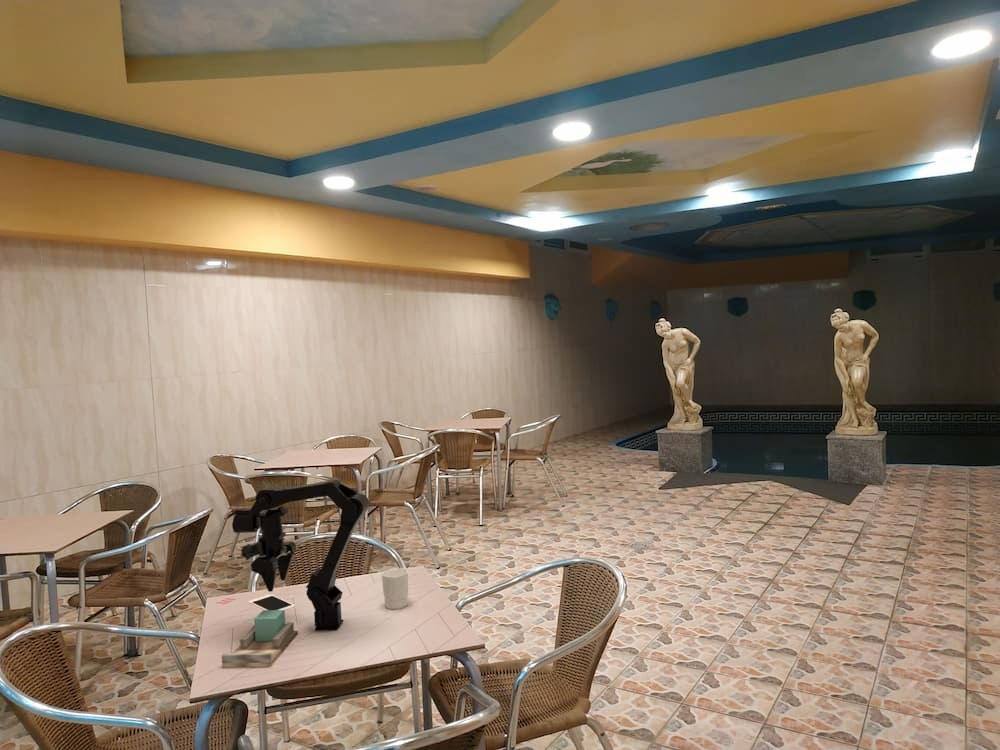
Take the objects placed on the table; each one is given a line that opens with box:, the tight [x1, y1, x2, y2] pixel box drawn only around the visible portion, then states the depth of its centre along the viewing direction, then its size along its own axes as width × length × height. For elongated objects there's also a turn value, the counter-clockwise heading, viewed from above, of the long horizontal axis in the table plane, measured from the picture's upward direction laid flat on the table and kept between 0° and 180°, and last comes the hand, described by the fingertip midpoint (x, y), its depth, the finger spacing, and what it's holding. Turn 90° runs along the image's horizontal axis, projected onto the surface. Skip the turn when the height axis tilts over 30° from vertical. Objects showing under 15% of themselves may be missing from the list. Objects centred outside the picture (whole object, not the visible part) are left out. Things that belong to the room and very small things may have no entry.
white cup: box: [381, 567, 409, 610], centre depth 211 cm, size 8×8×10 cm
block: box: [253, 609, 286, 641], centre depth 189 cm, size 6×6×6 cm
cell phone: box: [247, 593, 296, 611], centre depth 217 cm, size 8×16×1 cm, turn 46°
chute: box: [221, 621, 299, 668], centre depth 183 cm, size 12×19×3 cm, turn 176°
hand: (276, 585), depth 198 cm, fingers open, 9 cm apart
